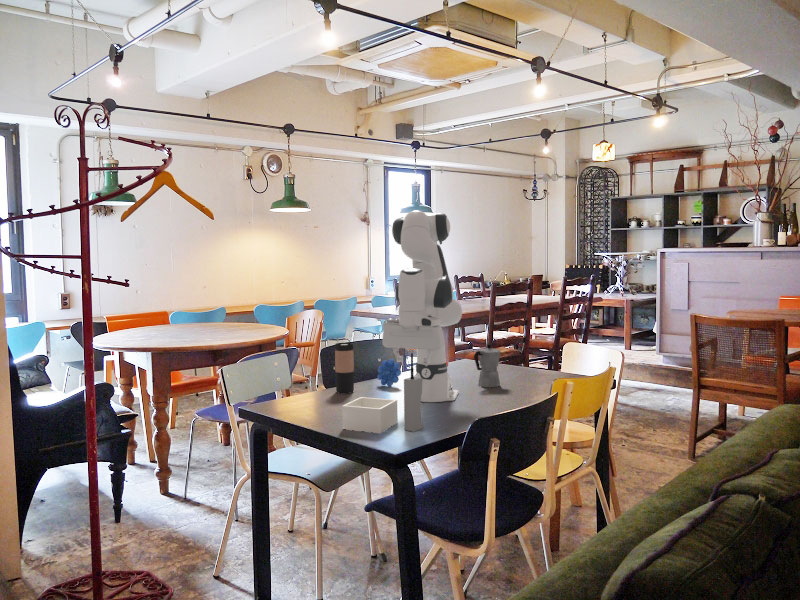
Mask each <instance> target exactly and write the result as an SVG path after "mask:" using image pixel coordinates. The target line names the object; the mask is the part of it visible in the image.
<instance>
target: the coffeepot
mask: <svg viewBox="0 0 800 600" xmlns="http://www.w3.org/2000/svg"><path fill="white" fill-rule="evenodd" d="M486 346H487V347H486V348H482V349H479V350H476V351H475V353H474V354H473V358H474V359H473V360H474V362H475V366H476V370H478V371H480V373H479V377H478V386H479V387H480V386H481V387H480V388H485V387H489V388H490V387H495V388H499V387H500V385H501V383H500V376H499V371H498V366H499V363H500V356H501V350H500V349H496V348H491V347H492V345H491V343H488V344H486ZM498 386H499V387H498ZM490 389H491V388H490Z"/></svg>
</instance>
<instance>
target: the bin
mask: <svg viewBox="0 0 800 600" xmlns="http://www.w3.org/2000/svg"><path fill="white" fill-rule="evenodd" d="M341 414H342V416H341V417H342V418H341V419H342V428H341V429H342V430H343V429H346V430H345V431H352V430H354V431H353V432H361V431H365V432H364V433H371V432H373V434H380V433H381V434H383V433H384V432H386V431H387V430H389V429H391V428H392V427H394V426H395V425H397V424H398V400H397V399H389V398H378V397H377V398H375V397H365V396H360V397H358V398H356V399H354V400H351V401H349V402H347V403H345V404H343V405H341ZM396 423H397V424H396ZM394 424H395V425H394ZM393 425H394V426H393ZM391 426H392V427H391ZM388 428H389V429H388ZM386 429H387V430H386ZM385 430H386V431H385ZM383 431H384V432H383Z"/></svg>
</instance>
